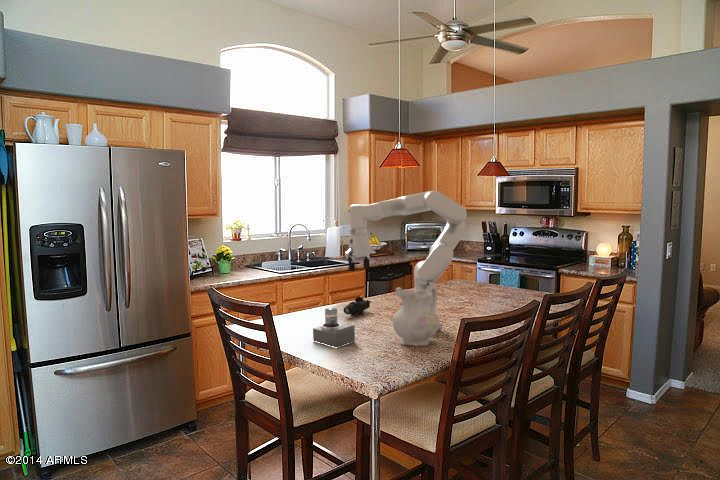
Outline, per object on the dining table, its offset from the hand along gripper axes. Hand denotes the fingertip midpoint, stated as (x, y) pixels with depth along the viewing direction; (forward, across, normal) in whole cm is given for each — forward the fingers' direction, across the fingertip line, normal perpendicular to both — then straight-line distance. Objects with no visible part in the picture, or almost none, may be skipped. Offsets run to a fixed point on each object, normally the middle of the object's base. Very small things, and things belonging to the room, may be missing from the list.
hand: (359, 269), depth 223 cm
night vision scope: (+29, +20, +20) cm, 40 cm away
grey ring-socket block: (+28, -20, -3) cm, 35 cm away
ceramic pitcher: (+28, +3, -30) cm, 41 cm away
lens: (+22, -20, -2) cm, 30 cm away
